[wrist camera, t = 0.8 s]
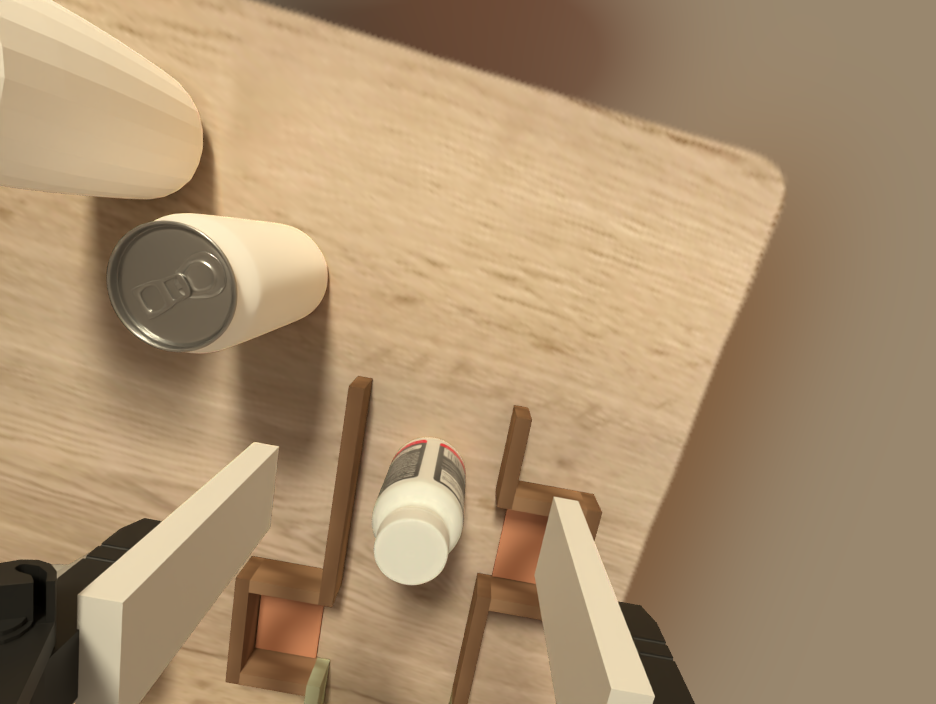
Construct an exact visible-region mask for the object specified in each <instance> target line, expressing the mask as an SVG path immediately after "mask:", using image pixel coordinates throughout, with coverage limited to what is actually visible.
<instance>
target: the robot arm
mask: <svg viewBox="0 0 936 704" xmlns="http://www.w3.org/2000/svg"><path fill="white" fill-rule="evenodd" d="M278 454H279V446H274V445H269V444H263V443H258V442H253V443H252V444H251V445H250V446H249V447H248V448H246V449H245V450H244V451H243V452H242V453H241V454H240V455H238V456H237V457H236V458H235V459H234V460H233V461H231V462H230V463H229V464H228V465H227V466H226V467H225V468H223V469H222V470H221V471H220V472H219V473H218V474H216V475H215V476H214V477H213V478H212V479H211V480H210V481H208V482H207V483H206V484H205V485H204V486H203V487H201V488H200V489H199V490H198V491H197V492H196V493H195V494H193V495H192V496H191V497H190V498H189V499H188V500H186V501H185V502H184V503H183V504H182V505H181V506H179V507H178V508H177V509H176V510H175V511H174V512H173V513H171V514H170V515H169V516H168V517H167V518H166V519H164V520H163V521H157V520H152V519H146V518H144V519H141V520H139V521H137V522H135V523H132V524H130V525H128V526H126V527H123V528H121V529H119V530H118V531H117V532H116V533H114V534H113V535H112V536H110V537H109V538H108V539H107V540H105V541H104V542H103V543H102V545H101V546H98V547H96V548H95V549H94V550H93V551H91V552H90V553H89V554H88V555H87V556H86V558H85V559H84V558H82V559H81V560H80V561H79V562H77V563H76V564H75V565H74V566H72V567H71V568H70V569H68V570H67V571H66V572H65V573H63V574H62V575H61V576H60V577H58V578H57V571H56V570H55V568H54V567H53V566H52V565H51V564H49V563H46V562H43V561H40V560H16V561H10V562H4V563H0V704H73V702H74V701H75V704H139V703H140V702H141V701H142V699H143V698H144V697H145V695H146V694H147V693H148V691H149V690H150V689H151V687H152V686H153V684H154V683H155V682H156V680H157V679H158V678H159V676H160V675H161V674H162V672H163V671H164V670H165V668H166V667H167V666H168V664H169V663H170V662H171V660H172V659H173V658H174V656H175V655H176V654H177V652H178V651H179V650H180V648H181V647H182V646H183V644H184V643H185V641H186V640H187V639H188V637H189V636H190V635H191V633H192V632H193V631H194V629H195V628H196V627H197V625H198V624H199V623H200V621H201V620H202V619H203V617H204V616H205V615H206V613H207V612H208V611H209V609H210V608H211V607H212V605H213V604H214V603H215V601H216V600H217V598H218V597H219V596H220V594H221V593H222V592H223V590H224V589H225V588H226V586H227V585H228V584H229V582H230V581H231V580H232V578H233V577H234V576H235V574H236V573H237V572H238V570H239V569H240V568H241V566H242V565H243V564H244V562H245V561H246V559H247V558H248V557H249V555H250V554H251V553H252V551H253V550H254V549H255V547H256V546H257V545H258V543H259V542H260V541H261V539H262V538H263V537H264V535H265V534H266V533H267V531H268V530H269V529H270V525H271V516H272V507H273V499H274V490H275V481H276V472H277V463H278ZM535 581H536V587H537V593H538V599H539V605H540V611H541V617H542V623H543V628H544V634H545V640H546V646H547V652H548V658H549V664H550V670H551V676H552V682H553V687H554V693H555V699H556V704H695V703H694V701H693V699H692V697H691V694H690V692H689V690H688V688H687V686H686V684H685V682H684V680H683V678H682V675H681V673H680V671H679V669H678V667H677V665H676V663H675V662H674V661H673V656H672V654H671V652H670V650H669V648H668V646H667V645H665V643H666V642H665V639H664V637H663V635H662V633H661V631H660V629H659V627H658V625H657V623H656V622H655V621H654V620H653V618H652V617H651V616H650V615H649V614H648V613H647V612H646V611H645V610H644V609H643V608H642V606H640V605H634V604H629V603H623V602H618V601H617V598H616V596H615V593H614V591H613V588H612V586H611V583H610V581H609V578H608V575H607V573H606V570H605V568H604V565H603V563H602V560H601V558H600V555H599V552H598V550H597V547H596V545H595V542H594V540H593V537H592V535H591V532H590V530H589V527H588V524H587V522H586V519H585V517H584V514H583V512H582V509H581V507H580V504H579V501H575V500H570V499H564V498H559V497H553V501H552V505H551V510H550V514H549V518H548V522H547V526H546V530H545V534H544V538H543V542H542V546H541V550H540V554H539V558H538V563H537V567H536V571H535Z"/></svg>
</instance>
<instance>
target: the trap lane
mask: <svg viewBox="0 0 936 704" xmlns="http://www.w3.org/2000/svg"><path fill="white" fill-rule="evenodd" d="M371 386H372V378H366V377H361V376H358V377H357V378H356V379H355V380H354V381H353V382H352V383H351V384H350V385H349V389H348V396H347V404H346V411H345V418H344V425H343V432H342V439H341V446H340V453H339V460H338V467H337V474H336V481H335V488H334V495H333V502H332V510H331V517H330V524H329V531H328V538H327V545H326V552H325V559H324V566H323V569H322V568H316V567H310V566H305V565H299V564H294V563H288V562H283V561H277V560H271V559H266V558H260V557H255V556H252V557H251V558H250V559H249V561H248V562H247V563H246V565H245V566H244V567H243V569H242V570H241V571H240V573H239V574H238V576H237V577H236V581H235V592H234V602H233V612H232V622H231V632H230V642H229V652H228V662H227V672H226V682H228V683H234V684H239V685H245V686H251V687H256V688H262V689H268V690H274V691H279V692H285V693H291V694H296V695H302V696H305V700H304V704H323V702H324V696H325V689H326V683H327V676H328V669H329V663H330V660H328V659H323V658H317V657H316V656H317V649H318V642H319V635H320V628H321V621H322V614H323V607H324V606H328V607H332V606H333V603H334V601H335V598H336V596H337V593H338V591H339V589H340V586H341V584H342V577H343V570H344V564H345V557H346V551H347V544H348V537H349V531H350V524H351V518H352V511H353V505H354V498H355V491H356V485H357V478H358V472H359V465H360V458H361V452H362V445H363V439H364V432H365V425H366V419H367V412H368V406H369V399H370V392H371ZM531 422H532V418H531V415H530V412H529V409H528V408H527V407H522V406H516V405H514V408H513V413H512V417H511V422H510V426H509V431H508V436H507V440H506V445H505V449H504V454H503V459H502V463H501V468H500V472H499V477H498V482H497V486H496V499H497V507H499V508H504V509H507V511H506V515H505V520H504V524H503V528H502V533H501V537H500V542H499V546H498V551H497V555H496V560H495V564H494V568H493V573H492V575H486V574H481V573H477V578H476V582H475V587H474V592H473V596H472V601H471V605H470V610H469V615H468V619H467V624H466V628H465V633H464V638H463V642H462V647H461V651H460V656H459V660H458V665H457V670H456V674H455V679H454V683H453V688H452V693H451V697H450V702H449V704H468V699H469V695H470V690H471V686H472V682H473V677H474V673H475V668H476V664H477V660H478V655H479V651H480V646H481V642H482V638H483V633H484V629H485V624H486V620H487V616H488V611H494V612H499V613H505V614H511V615H516V616H522V617H527V618H533V619H538V620H542V617H541V611H540V605H539V599H538V593H537V587H536V581H535V571H536V567H537V563H538V558H539V554H540V550H541V546H542V542H543V538H544V534H545V530H546V526H547V522H548V518H549V514H550V510H551V505H552V501H553V497H559V498H564V499H570V500H575V501H579V504H580V507H581V509H582V512H583V514H584V517H585V519H586V522H587V524H588V527H589V530H590V532H591V535H592V537H593V540H594V541H595V537H596V533H597V530H598V526H599V522H600V519H601V515H602V511H601V509H600V507H599V505H598V503H597V500H596V498H595V496H594V494H590V493H584V492H579V491H573V490H568V489H562V488H557V487H552V486H546V485H541V484H535V483H530V482H524V481H519V480H518V479H519V475H520V471H521V466H522V462H523V457H524V453H525V449H526V444H527V440H528V435H529V431H530V427H531ZM260 598H261V602H260ZM259 607H260V610H259ZM258 616H259V619H258ZM257 625H258V628H257ZM256 634H257V637H256ZM255 643H256V646H255Z"/></svg>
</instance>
